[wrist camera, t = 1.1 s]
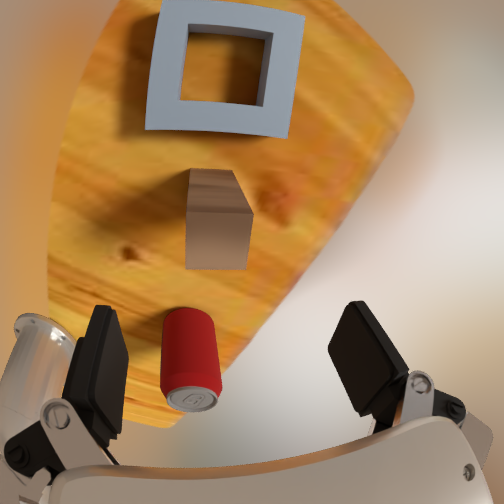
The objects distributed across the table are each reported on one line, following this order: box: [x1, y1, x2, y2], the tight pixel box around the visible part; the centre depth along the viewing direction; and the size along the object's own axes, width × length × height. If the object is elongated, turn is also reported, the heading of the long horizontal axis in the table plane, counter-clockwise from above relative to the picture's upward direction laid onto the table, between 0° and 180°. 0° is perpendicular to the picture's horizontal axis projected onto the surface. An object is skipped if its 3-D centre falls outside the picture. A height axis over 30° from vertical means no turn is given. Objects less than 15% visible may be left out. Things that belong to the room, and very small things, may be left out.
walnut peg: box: [186, 168, 254, 270], centre depth 22 cm, size 4×4×11 cm
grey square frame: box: [145, 0, 305, 139], centre depth 19 cm, size 12×12×3 cm
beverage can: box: [160, 308, 222, 412], centre depth 30 cm, size 7×7×12 cm
